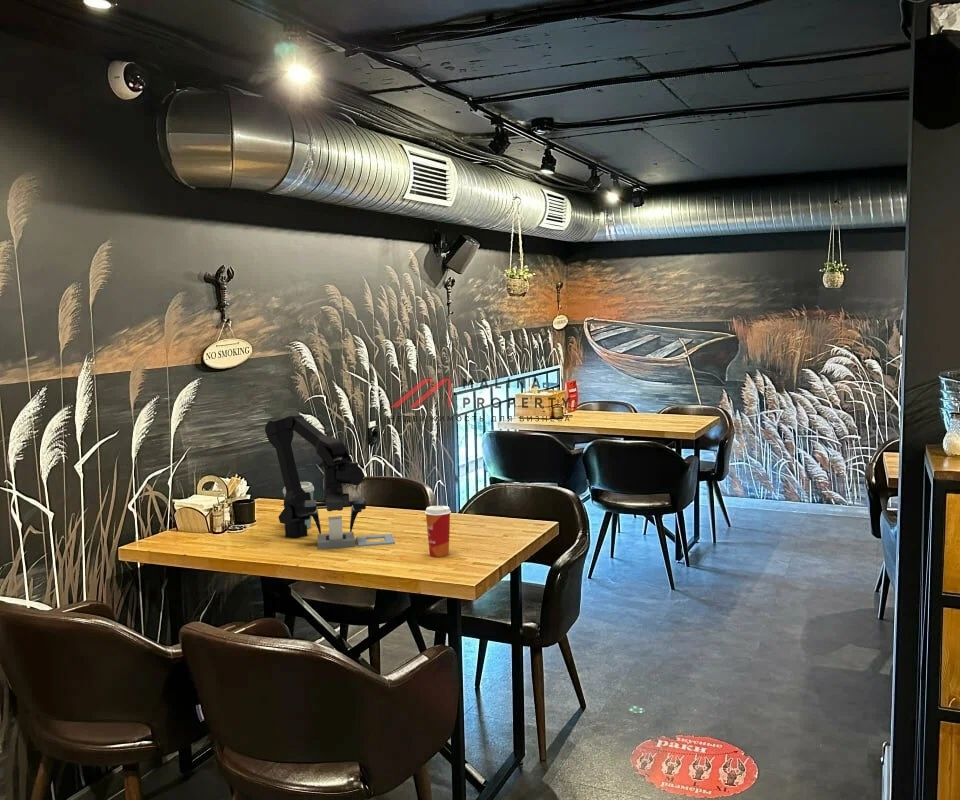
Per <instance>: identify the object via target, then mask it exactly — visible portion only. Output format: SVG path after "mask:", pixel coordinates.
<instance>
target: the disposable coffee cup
mask: <svg viewBox="0 0 960 800" xmlns="http://www.w3.org/2000/svg"><path fill="white" fill-rule="evenodd" d="M300 483H301V487H302V489H303V490H304V491H305V492H309V493H310V495H311V500H314V491H315V487H314V485H313V483H312V482H310V481H300ZM282 493H283V496H284V497H283V499H284V498H285V495H286V489H285V486H284V487H283V489H282ZM312 519H313V517H312V516H310V519H309V520H305V524H307V529H309V528H311V524H312Z"/></svg>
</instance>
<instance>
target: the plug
mask: <svg viewBox="0 0 960 800" xmlns="http://www.w3.org/2000/svg"><path fill="white" fill-rule="evenodd" d="M343 533H344V531H343V517H342V515H339V516H328V534H329V540H337V539H343Z"/></svg>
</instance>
